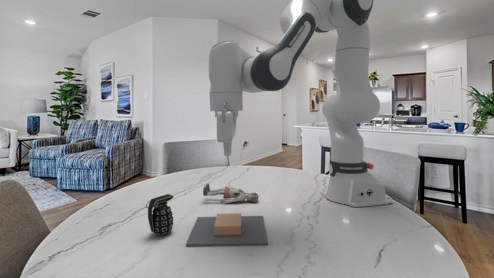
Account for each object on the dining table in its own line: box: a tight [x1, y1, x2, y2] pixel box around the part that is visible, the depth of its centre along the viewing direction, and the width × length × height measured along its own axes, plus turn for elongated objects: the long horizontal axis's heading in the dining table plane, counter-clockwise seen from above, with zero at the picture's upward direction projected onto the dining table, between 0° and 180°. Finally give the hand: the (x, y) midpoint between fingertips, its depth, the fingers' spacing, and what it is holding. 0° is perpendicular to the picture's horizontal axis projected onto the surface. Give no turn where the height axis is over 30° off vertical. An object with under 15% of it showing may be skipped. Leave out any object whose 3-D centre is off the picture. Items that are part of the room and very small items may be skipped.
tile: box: [214, 212, 242, 236], centre depth 69 cm, size 7×3×8 cm
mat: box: [185, 215, 269, 248], centre depth 69 cm, size 20×16×1 cm
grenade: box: [145, 193, 174, 237], centre depth 67 cm, size 7×6×10 cm
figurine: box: [202, 183, 259, 205], centre depth 91 cm, size 6×6×20 cm
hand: (227, 155), depth 69 cm, fingers closed
